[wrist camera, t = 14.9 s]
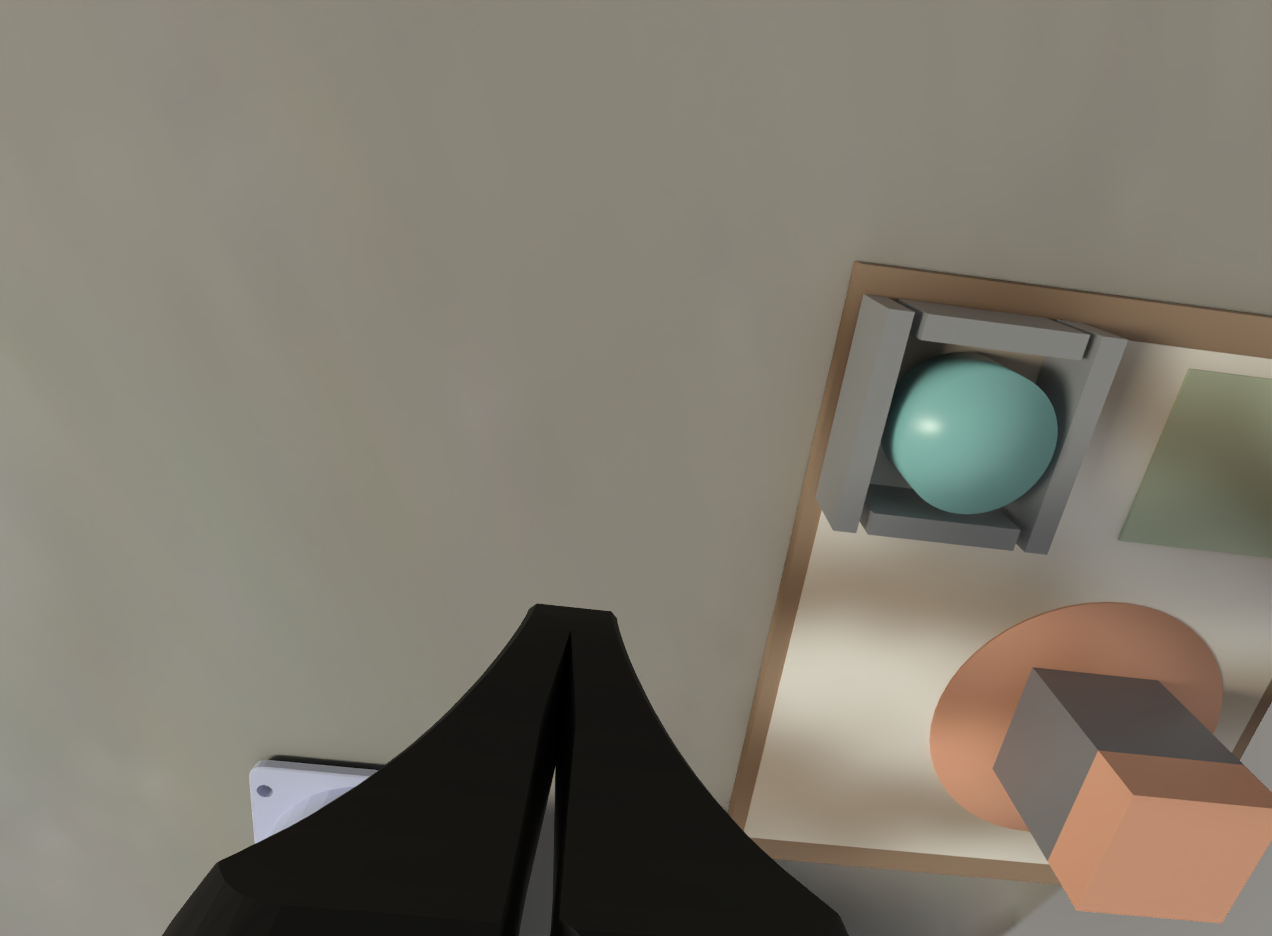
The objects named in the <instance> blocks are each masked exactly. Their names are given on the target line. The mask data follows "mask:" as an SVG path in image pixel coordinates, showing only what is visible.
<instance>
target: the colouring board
mask: <svg viewBox="0 0 1272 936" xmlns="http://www.w3.org/2000/svg"><path fill="white" fill-rule="evenodd" d="M863 294H867V295H874V296H882V297H888V298H890V299H891V300H893V301H895V302H897V303H898V300H899V299H905V300H913V301H921V302H928V303H936V304H944V305H951V306H959V307H967V308H974V309H982V310H990V311H997V312H1005V313H1013V314H1021V315H1028V316H1036V317H1044V318H1048V319H1050V320H1053V321H1055V322H1056V321H1057V319H1059V320H1067V321H1074V322H1081V323H1084V324H1086V325H1089V326H1092V327H1095V328H1097V329H1100V330H1103V331H1106V332H1108V333H1111V334H1114V335H1117V336H1119V337H1122V338H1125V339H1128V342H1127V344H1126V347H1125V350H1124V352H1123V355H1122V358H1121V360H1120V363H1119V366H1118V368H1117V371H1116V374H1115V376H1114V379H1113V382H1112V384H1111V387H1110V390H1109V392H1108V395H1107V398H1106V400H1105V403H1104V405H1103V408H1102V411H1101V413H1100V416H1099V419H1098V421H1097V424H1096V427H1095V429H1094V432H1093V435H1092V437H1091V440H1090V443H1089V445H1088V448H1087V451H1086V453H1085V456H1084V459H1083V461H1082V464H1081V467H1080V469H1079V472H1078V474H1077V477H1076V480H1075V482H1074V485H1073V488H1072V490H1071V493H1070V496H1069V498H1068V501H1067V504H1066V506H1065V509H1064V512H1063V514H1062V517H1061V520H1060V522H1059V525H1058V528H1057V530H1056V533H1055V536H1054V538H1053V541H1052V543H1051V546H1050V549H1049V551H1048V554H1047V555H1044V554H1035V553H1026V552H1024V551H1023V550H1022V549H1021V548H1020V547H1019V546H1018V545H1017V544H1016V545H1015V547H1014V550H1013V551H1009V550H1000V549H991V548H982V547H973V546H964V545H955V544H947V543H938V542H929V541H920V540H911V539H902V538H893V537H885V536H876V535H868V534H867V532H866V531H865V529H864V528H863V526H862V525H861V523H860V521H859V525H858V529H857V532H856V533H849V532H840V531H833V530H832V528H831V526H830V524H829V522H828V521H827V519H826V517H825V515H824V513H823V511H822V510H821V508H820V506H819V504H818V502H817V500H816V498H815V496H816V492H817V488H818V483H819V479H820V475H821V471H822V467H823V462H824V458H825V454H826V450H827V446H828V441H829V437H830V433H831V429H832V425H833V420H834V416H835V412H836V408H837V404H838V399H839V395H840V391H841V387H842V383H843V378H844V374H845V370H846V366H847V362H848V357H849V353H850V349H851V345H852V340H853V336H854V332H855V328H856V324H857V319H858V315H859V311H860V307H861V303H862V298H863ZM954 352H969V353H975V354H980V355H983V356H986V357H988V358H990V359H992V360H994V361H996V362H998V363H999V364H1001V365H1003V366H1005V367H1007V368H1008V369H1010V370H1012V371H1014V372H1016V373H1017V374H1019V375H1021V376H1023V377H1025V378H1026V379H1028V380H1030V381H1032V382H1033V383H1034V384H1036V381H1037V378H1038V375H1039V372H1040V369H1041V366H1042V363H1043V360H1044V357H1045V356H1042V355H1034V354H1026V353H1018V352H1010V351H1003V350H995V349H987V348H979V347H971V346H963V345H955V344H948V343H940V342H932V341H924V340H920V339H918V338H917V337H915V336H913V335H912V334H910V333H909V337H908V340H907V344H906V348H905V352H904V355H903V359H902V363H901V367H900V370H899V374H898V378H897V382H896V384H897V383H898V382H899V380H900V379H901V378H902V377H903V376H904V375H905V374H906V373H908V372H909V371H910V370H912V369H913V368H914V367H916V366H917V365H919V364H921V363H922V362H924V361H926V360H928V359H930V358H933V357H936V356H939V355H942V354H947V353H954ZM869 484H876V485H885V486H894V487H902V488H911V489H913V488H912V487H911V486H910V485H909V483H908V482H907V481H906V480H905V479H904V478H903V476H902V475H901V474H900V473H899V472H898V471H897V469H896V468H895V467H894V466H893V465H892V463H891V462H890V461H889V459H888V458H887V456H886V454H885V452H884V449H883V447H882V443H881V442H880V446H879V450H878V453H877V457H876V461H875V465H874V468H873V472H872V476H871V480H870V483H869ZM1032 667H1035V668H1045V669H1054V670H1064V671H1073V672H1083V673H1092V674H1102V675H1111V676H1121V677H1130V678H1140V679H1150V680H1158V681H1159V682H1160V683H1161V684H1162V685H1163V686H1164V687H1165V688H1166V689H1167V690H1168V691H1169V692H1170V693H1172V694H1173V695H1174V696H1175V697H1176V698H1177V699H1178V700H1179V701H1180V702H1181V703H1182V704H1183V705H1184V706H1185V707H1186V708H1187V709H1188V710H1189V711H1190V712H1191V713H1192V714H1193V715H1194V716H1195V717H1196V718H1197V719H1198V720H1199V721H1200V722H1201V723H1202V724H1203V725H1204V726H1205V727H1206V728H1207V729H1208V730H1209V731H1210V732H1211V733H1212V734H1213V735H1214V736H1215V737H1216V738H1217V739H1218V740H1219V741H1220V742H1221V743H1222V744H1223V745H1224V746H1225V747H1226V748H1227V749H1228V750H1229V751H1230V752H1231V753H1232V754H1233V755H1234V756H1235V757H1236V758H1237V759H1238V760H1240V758H1241V757H1242V755H1243V753H1244V751H1245V749H1246V747H1247V745H1248V744H1249V742H1250V740H1251V738H1252V736H1253V735H1254V733H1255V731H1256V729H1257V727H1258V726H1259V724H1260V722H1261V720H1262V718H1263V717H1264V715H1265V713H1266V711H1267V709H1268V707H1269V706H1270V704H1271V702H1272V316H1268V315H1261V314H1253V313H1246V312H1238V311H1230V310H1223V309H1215V308H1208V307H1200V306H1193V305H1185V304H1177V303H1170V302H1162V301H1155V300H1147V299H1140V298H1132V297H1125V296H1117V295H1109V294H1102V293H1094V292H1087V291H1079V290H1072V289H1064V288H1057V287H1049V286H1041V285H1034V284H1026V283H1019V282H1011V281H1004V280H996V279H988V278H981V277H973V276H966V275H958V274H951V273H943V272H936V271H928V270H920V269H913V268H905V267H898V266H890V265H883V264H875V263H868V262H860V261H854V265H853V270H852V274H851V279H850V283H849V287H848V292H847V296H846V300H845V305H844V309H843V313H842V318H841V322H840V326H839V331H838V335H837V340H836V344H835V348H834V353H833V357H832V361H831V366H830V370H829V374H828V379H827V383H826V387H825V392H824V396H823V401H822V405H821V409H820V414H819V418H818V422H817V427H816V431H815V435H814V440H813V444H812V448H811V453H810V457H809V461H808V466H807V470H806V475H805V479H804V483H803V488H802V492H801V496H800V501H799V505H798V509H797V514H796V518H795V522H794V527H793V531H792V536H791V540H790V544H789V549H788V553H787V557H786V562H785V566H784V570H783V575H782V579H781V583H780V588H779V592H778V596H777V601H776V605H775V610H774V614H773V618H772V623H771V627H770V631H769V636H768V640H767V644H766V649H765V653H764V657H763V662H762V666H761V671H760V675H759V679H758V684H757V688H756V692H755V697H754V701H753V705H752V710H751V714H750V718H749V723H748V727H747V732H746V736H745V740H744V745H743V749H742V753H741V758H740V762H739V766H738V771H737V775H736V779H735V784H734V788H733V792H732V797H731V801H730V806H729V810H728V814H729V816H730V817H731V818H732V819H733V820H734V821H735V822H736V823H737V824H738V825H739V827H740V828H741V829H742V830H743V831H744V832H745V833H746V834H747V835H748V836H749V837H750V838H751V839H752V840H753V841H754V842H755V843H756V844H757V845H758V846H759V847H760V848H761V849H762V850H763V851H764V852H765V853H766V854H767V855H769V856H770V857H771V858H772V859H779V860H790V861H802V862H813V863H824V864H835V865H847V866H858V867H869V868H880V869H892V870H903V871H914V872H925V873H937V874H948V875H959V876H970V877H981V878H993V879H1004V880H1015V881H1026V882H1038V883H1049V884H1060V885H1061V883H1060V882H1059V880H1058V878H1057V877H1056V875H1055V873H1054V872H1053V870H1052V868H1051V866H1050V865H1049V863H1048V861H1047V860H1046V858H1045V856H1044V855H1043V853H1042V851H1041V850H1040V848H1039V846H1038V845H1037V843H1036V841H1035V839H1034V838H1033V836H1032V834H1031V833H1030V831H1029V829H1028V828H1027V826H1026V824H1025V823H1024V821H1023V819H1022V818H1021V816H1020V814H1019V812H1018V811H1017V809H1016V807H1015V806H1014V804H1013V802H1012V801H1011V799H1010V797H1009V796H1008V794H1007V792H1006V791H1005V789H1004V787H1003V785H1002V784H1001V782H1000V780H999V779H998V777H997V775H996V774H995V772H994V770H993V766H994V763H995V761H996V758H997V756H998V753H999V751H1000V748H1001V746H1002V743H1003V741H1004V738H1005V736H1006V733H1007V730H1008V728H1009V725H1010V723H1011V720H1012V718H1013V715H1014V713H1015V710H1016V708H1017V705H1018V703H1019V700H1020V698H1021V695H1022V692H1023V690H1024V687H1025V685H1026V682H1027V680H1028V677H1029V675H1030V672H1031V670H1032Z"/></svg>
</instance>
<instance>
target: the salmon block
mask: <svg viewBox="0 0 1272 936" xmlns="http://www.w3.org/2000/svg"><path fill="white" fill-rule="evenodd" d="M993 770H994V772H995V774H996V775H997V777H998V779H999V780H1000V782H1001V784H1002V785H1003V787H1004V789H1005V791H1006V792H1007V794H1008V796H1009V797H1010V799H1011V801H1012V802H1013V804H1014V806H1015V807H1016V809H1017V811H1018V812H1019V814H1020V816H1021V818H1022V819H1023V821H1024V823H1025V824H1026V826H1027V828H1028V829H1029V831H1030V833H1031V834H1032V836H1033V838H1034V839H1035V841H1036V843H1037V845H1038V846H1039V848H1040V850H1041V851H1042V853H1043V855H1044V856H1045V858H1046V860H1047V861H1048V863H1049V865H1050V866H1051V868H1052V870H1053V872H1054V873H1055V875H1056V877H1057V878H1058V880H1059V882H1060V883H1061V885H1062V887H1063V888H1064V890H1065V892H1066V893H1067V895H1068V897H1069V898H1070V900H1071V902H1072V904H1073V905H1074V907H1075V908H1076V910H1077V911H1088V912H1098V913H1110V914H1121V915H1122V914H1123V915H1132V916H1144V917H1155V918H1166V919H1179V920H1189V921H1200V922H1212V923H1222V922H1223V920H1224V918H1225V917H1226V915H1227V914H1228V912H1229V910H1230V909H1231V907H1232V905H1233V904H1234V902H1235V900H1236V899H1237V897H1238V895H1239V894H1240V892H1241V890H1242V889H1243V887H1244V885H1245V884H1246V882H1247V880H1248V879H1249V877H1250V875H1251V874H1252V872H1253V870H1254V869H1255V867H1256V865H1257V864H1258V862H1259V860H1260V859H1261V857H1262V855H1263V854H1264V852H1265V850H1266V849H1267V847H1268V845H1269V844H1270V842H1271V840H1272V792H1271V791H1270V790H1269V789H1268V788H1266V786H1264V785H1263V783H1261V782H1260V781H1259V780H1258V779H1257V778H1256V777H1255V776H1254V775H1253V774H1252V773H1251V772H1250V771H1249V770H1248V769H1247V768H1246V767H1245V766H1244V765H1243V764H1242V763H1241V762H1240V761H1239V760H1238V759H1237V758H1236V757H1235V756H1234V755H1233V754H1232V753H1231V752H1230V751H1229V750H1228V749H1227V748H1226V747H1225V746H1224V745H1223V744H1222V743H1221V742H1220V741H1219V740H1218V739H1217V738H1216V737H1215V736H1214V735H1213V734H1212V733H1211V732H1210V731H1209V730H1208V729H1207V728H1206V727H1205V726H1204V725H1203V724H1202V723H1201V722H1200V721H1199V720H1198V719H1197V718H1196V717H1195V716H1194V715H1193V714H1192V713H1191V712H1190V711H1189V710H1188V709H1187V708H1186V707H1185V706H1184V705H1183V704H1182V703H1181V702H1180V701H1179V700H1178V699H1177V698H1176V697H1175V696H1174V695H1173V694H1172V693H1170V692H1169V691H1168V690H1167V689H1166V688H1165V687H1164V686H1163V685H1162V684H1161V683H1160V682H1159V681H1158V680H1150V679H1140V678H1130V677H1121V676H1111V675H1102V674H1092V673H1083V672H1073V671H1064V670H1054V669H1045V668H1035V667H1032V670H1031V672H1030V675H1029V677H1028V680H1027V682H1026V685H1025V687H1024V690H1023V692H1022V695H1021V698H1020V700H1019V703H1018V705H1017V708H1016V710H1015V713H1014V715H1013V718H1012V720H1011V723H1010V725H1009V728H1008V730H1007V733H1006V736H1005V738H1004V741H1003V743H1002V746H1001V748H1000V751H999V753H998V756H997V758H996V761H995V763H994V766H993Z"/></svg>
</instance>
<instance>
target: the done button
mask: <svg viewBox="0 0 1272 936" xmlns="http://www.w3.org/2000/svg"><path fill="white" fill-rule="evenodd" d="M1057 434H1058V426H1057V418H1056V414H1055V411H1054V408H1053V406H1052V404H1051V402H1050V400H1049V398H1048V397H1047V396H1046V394H1045V393H1044V392H1043V391H1042V390H1041V389H1040V388H1039V387H1038V386H1037V385H1036V384H1034V383H1033V382H1032V381H1030V380H1028V379H1026V378H1025V377H1023V376H1021V375H1019V374H1017V373H1016V372H1014V371H1012V370H1010V369H1008V368H1007V367H1005V366H1003V365H1001V364H999V363H998V362H996V361H994V360H992V359H990V358H988V357H986V356H983V355H980V354H975V353H969V352H954V353H947V354H942V355H939V356H936V357H933V358H930V359H928V360H926V361H924V362H922V363H921V364H919V365H917V366H916V367H914V368H913V369H912V370H910V371H909V372H908V373H906V374H905V375H904V376H903V377H902V378H901V379H900V380H899V382H898V383H897V384H896V385H895V389H894V393H893V397H892V401H891V404H890V408H889V412H888V416H887V419H886V423H885V427H884V431H883V434H882V438H881V443H882V447H883V449H884V452H885V454H886V456H887V458H888V459H889V461H890V462H891V463H892V465H893V466H894V467H895V468H896V469H897V471H898V472H899V473H900V474H901V475H902V476H903V478H904V479H905V480H906V481H907V482H908V483H909V485H910V486H911V487H912V488H913V489H914V490H915V492H916V493H917V494H918V495H919V496H920V497H921V498H922V499H923V500H925V501H926V502H927V503H929V504H930V505H932V506H934V507H936V508H938V509H940V510H944V511H947V512H951V513H956V514H978V513H984V512H988V511H992V510H995V509H998V508H1000V507H1003V506H1005V505H1007V504H1009V503H1011V502H1013V501H1014V500H1016V499H1017V498H1019V497H1020V496H1022V495H1023V494H1024V493H1026V492H1027V491H1028V490H1029V489H1030V488H1031V487H1032V486H1033V485H1034V484H1035V483H1036V482H1037V481H1038V480H1039V478H1040V477H1041V476H1042V474H1043V473H1044V472H1045V470H1046V468H1047V467H1048V465H1049V463H1050V461H1051V458H1052V456H1053V454H1054V450H1055V447H1056V442H1057Z"/></svg>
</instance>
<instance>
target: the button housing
mask: <svg viewBox="0 0 1272 936" xmlns="http://www.w3.org/2000/svg"><path fill="white" fill-rule="evenodd" d="M909 333H910V334H912V335H913V336H915V337H917V338H918V339H920V340H924V341H932V342H940V343H948V344H955V345H963V346H971V347H979V348H987V349H995V350H1003V351H1010V352H1018V353H1026V354H1034V355H1042V356H1045V357H1044V360H1043V363H1042V366H1041V369H1040V372H1039V375H1038V378H1037V381H1036V385H1037V386H1038V387H1039V388H1040V389H1041V390H1042V391H1043V392H1044V393H1045V394H1046V396H1047V397H1048V398H1049V400H1050V402H1051V404H1052V406H1053V408H1054V411H1055V414H1056V418H1057V426H1058V434H1057V442H1056V447H1055V450H1054V454H1053V456H1052V458H1051V461H1050V463H1049V465H1048V467H1047V468H1046V470H1045V472H1044V473H1043V474H1042V476H1041V477H1040V478H1039V480H1038V481H1037V482H1036V483H1035V484H1034V485H1033V486H1032V487H1031V488H1030V489H1029V490H1028V491H1027V492H1026V493H1024V494H1023V495H1022V496H1020V497H1019V498H1017V499H1016V500H1014V501H1013V502H1011V503H1009V504H1007V505H1005V506H1003V507H1000V508H998V509H995V510H992V511H988V512H984V513H978V514H956V513H951V512H947V511H944V510H940V509H938V508H936V507H934V506H932V505H930V504H929V503H927V502H926V501H925V500H923V499H922V498H921V497H920V496H919V495H918V494H917V493H916V492H915V490H914V489H911V488H902V487H894V486H885V485H876V484H869V483H870V480H871V476H872V472H873V468H874V465H875V461H876V457H877V453H878V450H879V446H880V442H881V438H882V434H883V431H884V427H885V423H886V419H887V416H888V412H889V408H890V404H891V401H892V397H893V393H894V389H895V385H896V382H897V378H898V374H899V370H900V367H901V363H902V359H903V355H904V352H905V348H906V344H907V340H908V337H909ZM1127 342H1128V339H1125V338H1122V337H1119V336H1117V335H1114V334H1111V333H1108V332H1106V331H1103V330H1100V329H1097V328H1095V327H1092V326H1089V325H1086V324H1084V323H1081V322H1074V321H1067V320H1059V319H1057V321H1056V322H1055V321H1053V320H1050V319H1048V318H1044V317H1036V316H1028V315H1021V314H1013V313H1005V312H997V311H990V310H982V309H974V308H967V307H959V306H951V305H944V304H936V303H928V302H921V301H913V300H905V299H899V300H898V303H897V302H895V301H893V300H891V299H890V298H888V297H882V296H874V295H867V294H863V298H862V303H861V307H860V311H859V315H858V319H857V324H856V328H855V332H854V336H853V340H852V345H851V349H850V353H849V357H848V362H847V366H846V370H845V374H844V378H843V383H842V387H841V391H840V395H839V399H838V404H837V408H836V412H835V416H834V420H833V425H832V429H831V433H830V437H829V441H828V446H827V450H826V454H825V458H824V462H823V467H822V471H821V475H820V479H819V483H818V488H817V492H816V496H815V498H816V500H817V502H818V504H819V506H820V508H821V510H822V511H823V513H824V515H825V517H826V519H827V521H828V522H829V524H830V526H831V528H832V530H833V531H840V532H849V533H856V532H857V529H858V525H859V521H860V523H861V525H862V526H863V528H864V529H865V531H866V532H867V534H868V535H876V536H885V537H893V538H902V539H911V540H920V541H929V542H938V543H947V544H955V545H964V546H973V547H982V548H991V549H1000V550H1009V551H1013V550H1014V547H1015V545H1016V544H1017V545H1018V546H1019V547H1020V548H1021V549H1022V550H1023V551H1024V552H1026V553H1035V554H1044V555H1047V554H1048V551H1049V549H1050V546H1051V543H1052V541H1053V538H1054V536H1055V533H1056V530H1057V528H1058V525H1059V522H1060V520H1061V517H1062V514H1063V512H1064V509H1065V506H1066V504H1067V501H1068V498H1069V496H1070V493H1071V490H1072V488H1073V485H1074V482H1075V480H1076V477H1077V474H1078V472H1079V469H1080V467H1081V464H1082V461H1083V459H1084V456H1085V453H1086V451H1087V448H1088V445H1089V443H1090V440H1091V437H1092V435H1093V432H1094V429H1095V427H1096V424H1097V421H1098V419H1099V416H1100V413H1101V411H1102V408H1103V405H1104V403H1105V400H1106V398H1107V395H1108V392H1109V390H1110V387H1111V384H1112V382H1113V379H1114V376H1115V374H1116V371H1117V368H1118V366H1119V363H1120V360H1121V358H1122V355H1123V352H1124V350H1125V347H1126V344H1127Z"/></svg>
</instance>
